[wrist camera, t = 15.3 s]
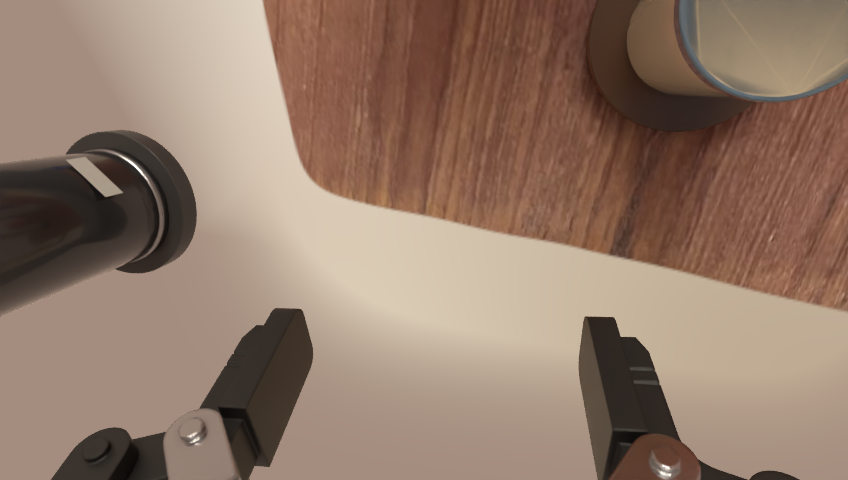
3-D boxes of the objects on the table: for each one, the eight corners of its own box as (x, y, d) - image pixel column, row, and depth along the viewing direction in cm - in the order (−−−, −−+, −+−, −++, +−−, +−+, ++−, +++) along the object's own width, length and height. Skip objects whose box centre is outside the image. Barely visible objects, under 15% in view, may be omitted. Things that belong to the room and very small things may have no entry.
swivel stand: (590, 140, 30) (593, 142, 28) (581, -46, 27) (583, -53, 26) (782, 117, 27) (796, 118, 26) (792, -90, 24) (807, -100, 23)
